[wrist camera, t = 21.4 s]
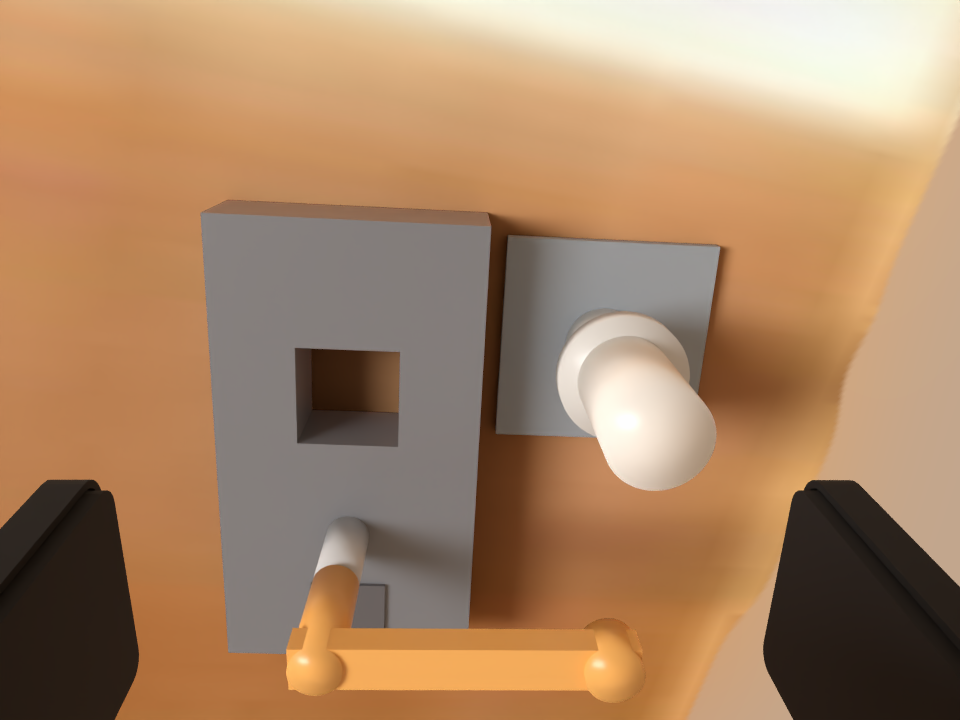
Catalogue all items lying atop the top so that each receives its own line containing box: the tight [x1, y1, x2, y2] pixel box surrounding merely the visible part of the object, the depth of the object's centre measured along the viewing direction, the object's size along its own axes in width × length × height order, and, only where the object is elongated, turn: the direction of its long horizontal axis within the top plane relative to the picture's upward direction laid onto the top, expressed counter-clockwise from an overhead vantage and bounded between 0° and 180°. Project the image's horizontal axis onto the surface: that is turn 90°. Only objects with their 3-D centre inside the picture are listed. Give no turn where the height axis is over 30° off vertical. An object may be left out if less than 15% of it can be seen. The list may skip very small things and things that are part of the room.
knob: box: [556, 308, 716, 491], centre depth 33 cm, size 6×6×11 cm
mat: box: [495, 235, 720, 438], centre depth 38 cm, size 10×10×1 cm
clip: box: [286, 565, 646, 703], centre depth 31 cm, size 13×2×6 cm, turn 88°
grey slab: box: [201, 200, 491, 654], centre depth 36 cm, size 22×12×8 cm, turn 177°
